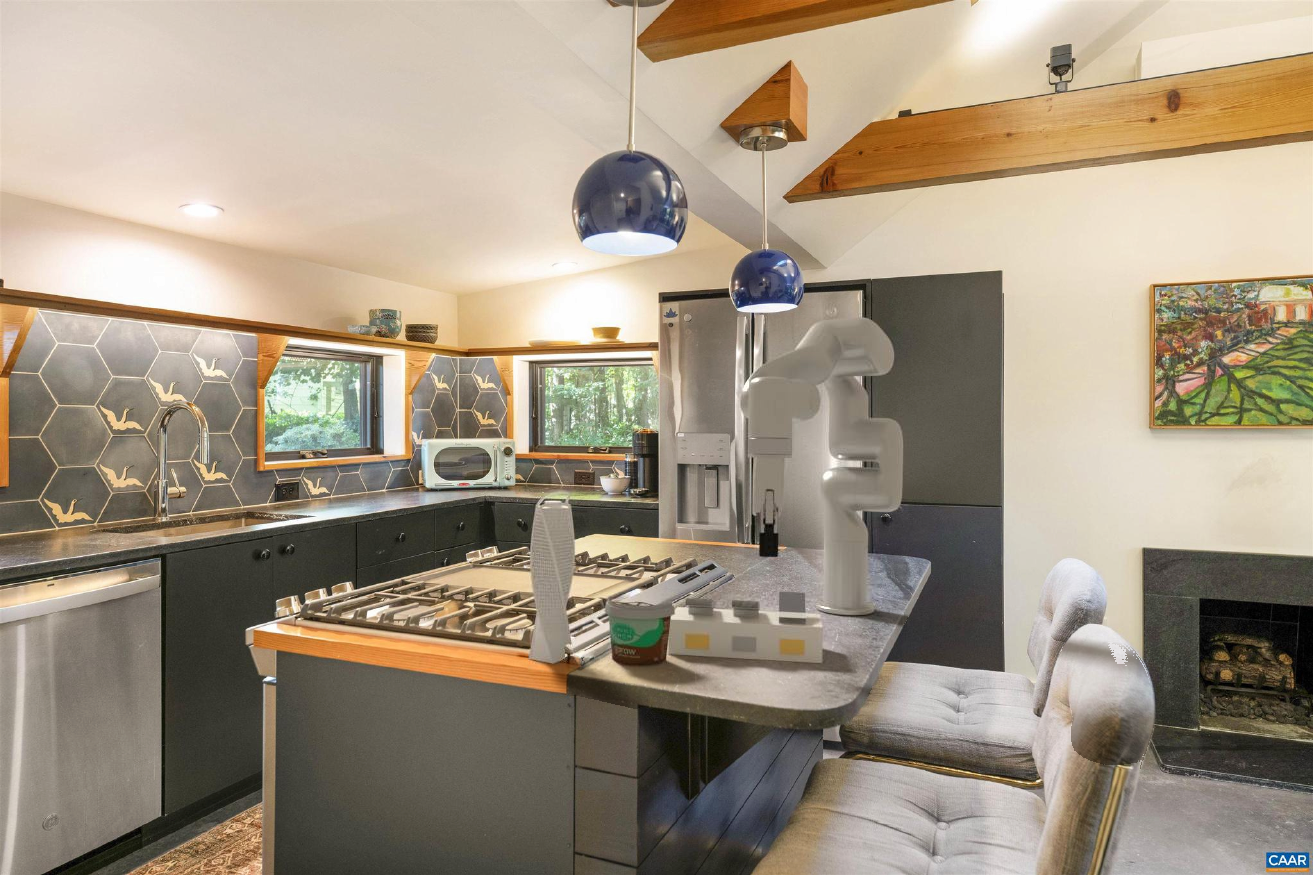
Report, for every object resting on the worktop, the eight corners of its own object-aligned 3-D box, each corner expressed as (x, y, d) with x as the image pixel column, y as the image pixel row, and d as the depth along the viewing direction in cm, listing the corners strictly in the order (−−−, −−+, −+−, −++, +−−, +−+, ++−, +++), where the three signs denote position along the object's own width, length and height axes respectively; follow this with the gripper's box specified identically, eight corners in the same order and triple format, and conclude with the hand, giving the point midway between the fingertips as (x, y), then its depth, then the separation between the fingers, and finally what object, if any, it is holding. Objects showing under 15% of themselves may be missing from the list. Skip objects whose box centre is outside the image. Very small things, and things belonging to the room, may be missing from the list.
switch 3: (779, 597, 136) (779, 591, 136) (804, 598, 135) (804, 592, 135) (778, 623, 129) (778, 616, 128) (805, 624, 128) (805, 618, 128)
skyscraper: (549, 648, 133) (551, 489, 133) (583, 655, 129) (585, 491, 129) (519, 659, 126) (521, 492, 126) (555, 666, 122) (557, 494, 123)
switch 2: (734, 608, 137) (734, 602, 138) (759, 610, 136) (759, 603, 137) (731, 607, 130) (731, 600, 130) (758, 608, 129) (758, 601, 129)
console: (676, 639, 140) (677, 600, 140) (819, 647, 136) (819, 607, 136) (668, 654, 130) (668, 612, 130) (822, 663, 126) (822, 620, 126)
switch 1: (690, 606, 139) (691, 600, 139) (715, 608, 138) (715, 601, 138) (685, 605, 131) (685, 597, 131) (711, 606, 130) (711, 599, 130)
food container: (591, 663, 125) (592, 602, 125) (606, 653, 130) (607, 595, 130) (661, 671, 120) (662, 609, 120) (674, 661, 126) (675, 601, 126)
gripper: (748, 448, 137) (747, 549, 137) (746, 449, 123) (745, 562, 122) (790, 449, 136) (789, 551, 136) (793, 449, 121) (792, 563, 121)
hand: (768, 556), depth 129 cm, fingers closed
